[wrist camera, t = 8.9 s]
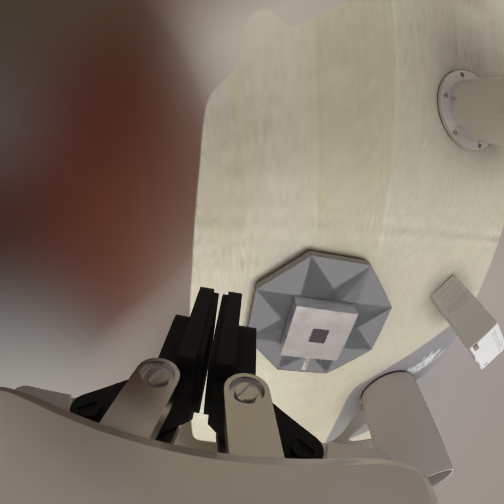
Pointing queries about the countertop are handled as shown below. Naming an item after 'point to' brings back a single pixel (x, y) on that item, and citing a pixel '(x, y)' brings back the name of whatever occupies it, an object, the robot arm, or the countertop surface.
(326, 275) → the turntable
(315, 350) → the cover
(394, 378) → the cylinder vase
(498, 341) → the skincare box
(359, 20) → the countertop surface
